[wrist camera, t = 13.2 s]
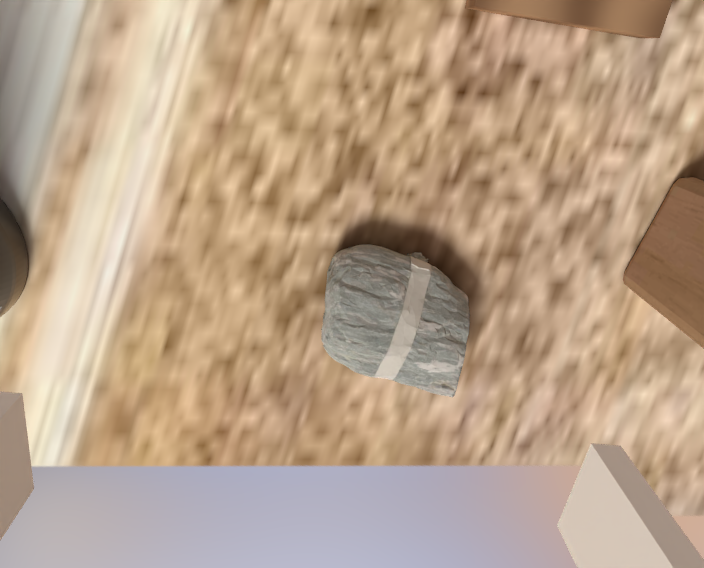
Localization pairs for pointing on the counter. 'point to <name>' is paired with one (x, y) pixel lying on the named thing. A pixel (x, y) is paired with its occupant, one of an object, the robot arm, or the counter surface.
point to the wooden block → (674, 259)
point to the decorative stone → (395, 318)
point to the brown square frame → (587, 14)
